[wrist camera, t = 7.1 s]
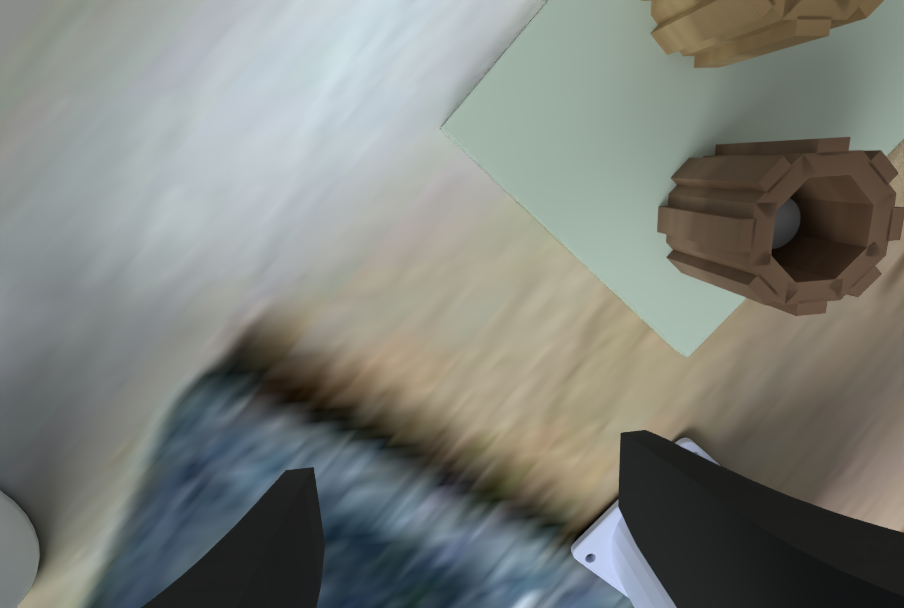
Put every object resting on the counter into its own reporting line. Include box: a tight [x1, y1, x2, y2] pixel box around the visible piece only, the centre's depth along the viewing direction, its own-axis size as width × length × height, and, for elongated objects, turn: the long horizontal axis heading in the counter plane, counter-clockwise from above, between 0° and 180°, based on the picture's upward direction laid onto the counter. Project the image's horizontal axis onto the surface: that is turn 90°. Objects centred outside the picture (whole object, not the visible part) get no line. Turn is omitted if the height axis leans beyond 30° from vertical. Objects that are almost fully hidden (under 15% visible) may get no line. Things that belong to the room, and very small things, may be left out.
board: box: [440, 0, 904, 358], centre depth 19 cm, size 14×15×4 cm
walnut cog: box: [657, 137, 904, 316], centre depth 18 cm, size 5×5×5 cm
